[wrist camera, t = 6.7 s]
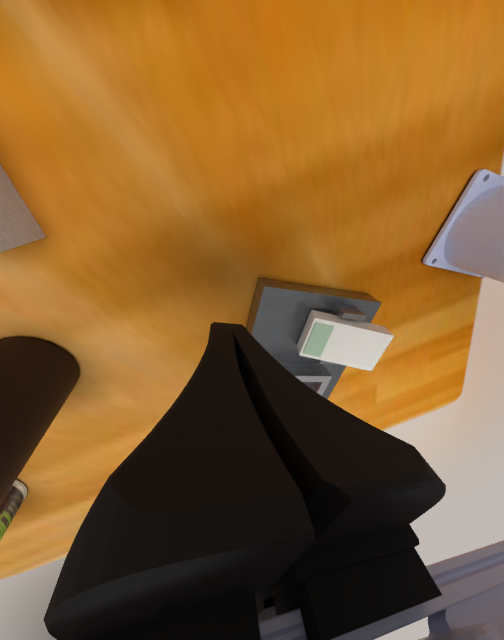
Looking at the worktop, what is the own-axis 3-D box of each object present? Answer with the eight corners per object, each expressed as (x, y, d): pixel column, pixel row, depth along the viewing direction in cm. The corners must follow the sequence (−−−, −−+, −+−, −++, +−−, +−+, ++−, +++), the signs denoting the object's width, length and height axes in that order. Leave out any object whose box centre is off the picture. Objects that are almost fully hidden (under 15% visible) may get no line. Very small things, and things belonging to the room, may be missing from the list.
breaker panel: (368, 294, 22) (397, 312, 19) (313, 399, 30) (327, 426, 27) (258, 277, 19) (271, 296, 16) (228, 401, 26) (232, 432, 23)
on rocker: (384, 326, 20) (395, 336, 18) (364, 360, 22) (372, 372, 20) (311, 309, 19) (315, 318, 18) (296, 345, 21) (299, 356, 20)
